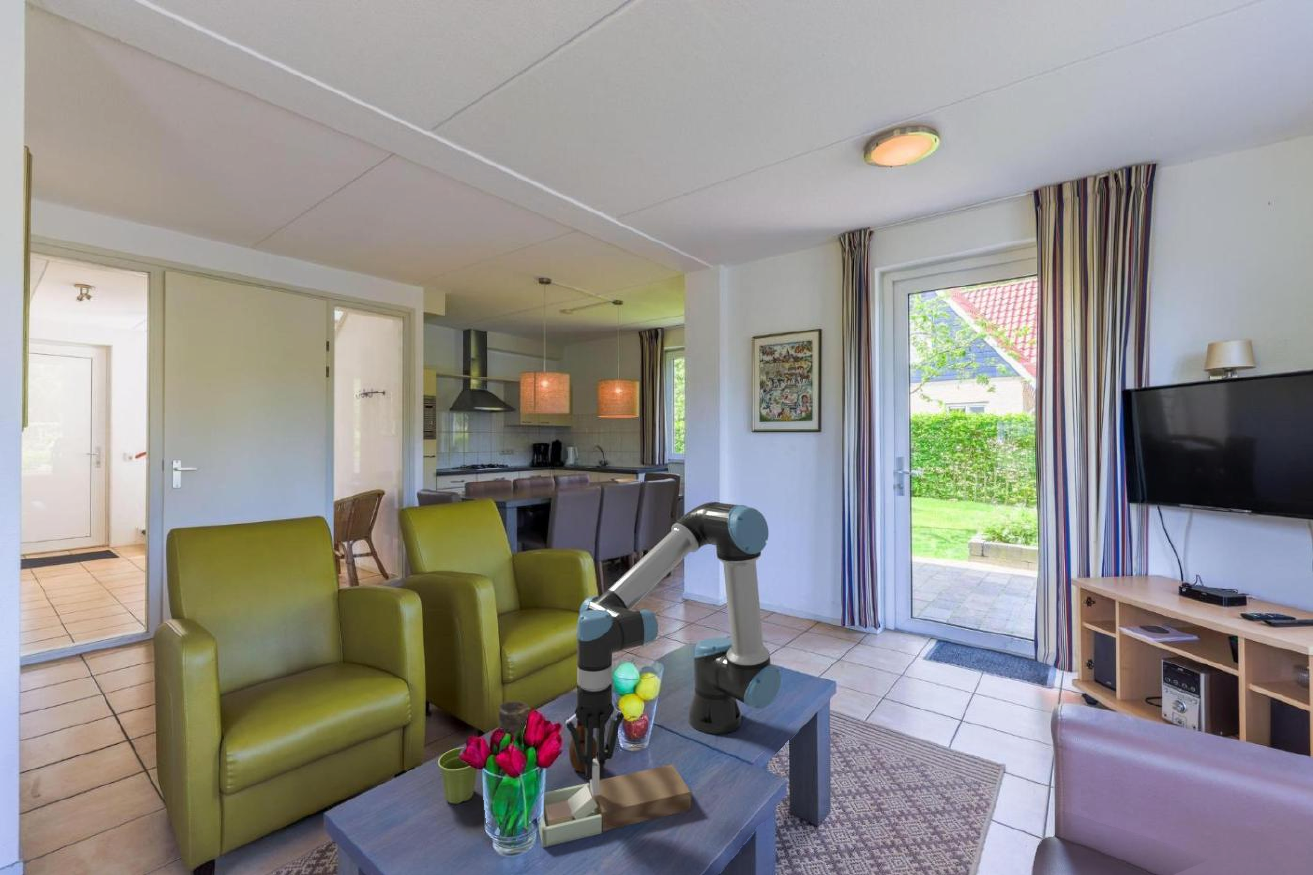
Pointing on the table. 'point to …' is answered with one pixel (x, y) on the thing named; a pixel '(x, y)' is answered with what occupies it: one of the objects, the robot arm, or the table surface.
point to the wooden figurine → (572, 753)
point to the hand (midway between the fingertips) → (594, 791)
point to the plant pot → (457, 777)
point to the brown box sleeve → (641, 797)
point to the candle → (513, 716)
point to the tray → (568, 829)
